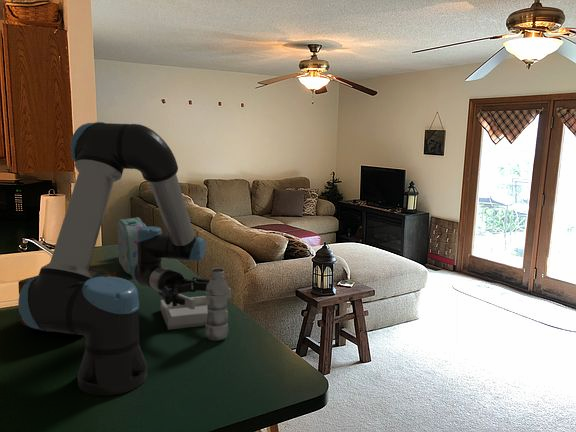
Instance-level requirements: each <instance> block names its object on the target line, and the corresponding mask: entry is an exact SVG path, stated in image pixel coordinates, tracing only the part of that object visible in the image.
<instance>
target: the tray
mask: <svg viewBox="0 0 576 432" xmlns="http://www.w3.org/2000/svg"><path fill="white" fill-rule="evenodd" d="M188 297H189V296H188ZM189 298H192V299H195V309H193V310H192V309H190V308H187V307H185V306H182V305H180V304H177V306H173V302H171V303H170V304H169V305H167V304H166V303H165V301H164V299H160V312H161V315H162V318H163V321H164V324H165V325H166V328H167V330H178V329H186V328H187V329H188V328H194V327H203V326H204V327H206V323H207V299H206V295H202V296H191V297H189ZM227 322H228V323H229V311H228V310H227Z"/></svg>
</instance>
